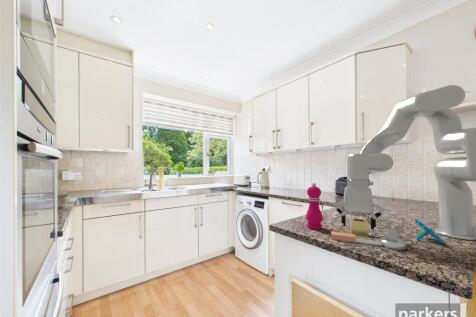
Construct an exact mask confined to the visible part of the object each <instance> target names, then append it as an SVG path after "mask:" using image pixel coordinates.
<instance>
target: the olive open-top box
mask: <svg viewBox="0 0 476 317" xmlns="http://www.w3.org/2000/svg"><path fill="white" fill-rule="evenodd" d="M369 226H370V225H369V222H368V220H367V218H355V217H349V233H350V234H355V236H361V237H368V238H370V235H369V234H370V232H369Z"/></svg>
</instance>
